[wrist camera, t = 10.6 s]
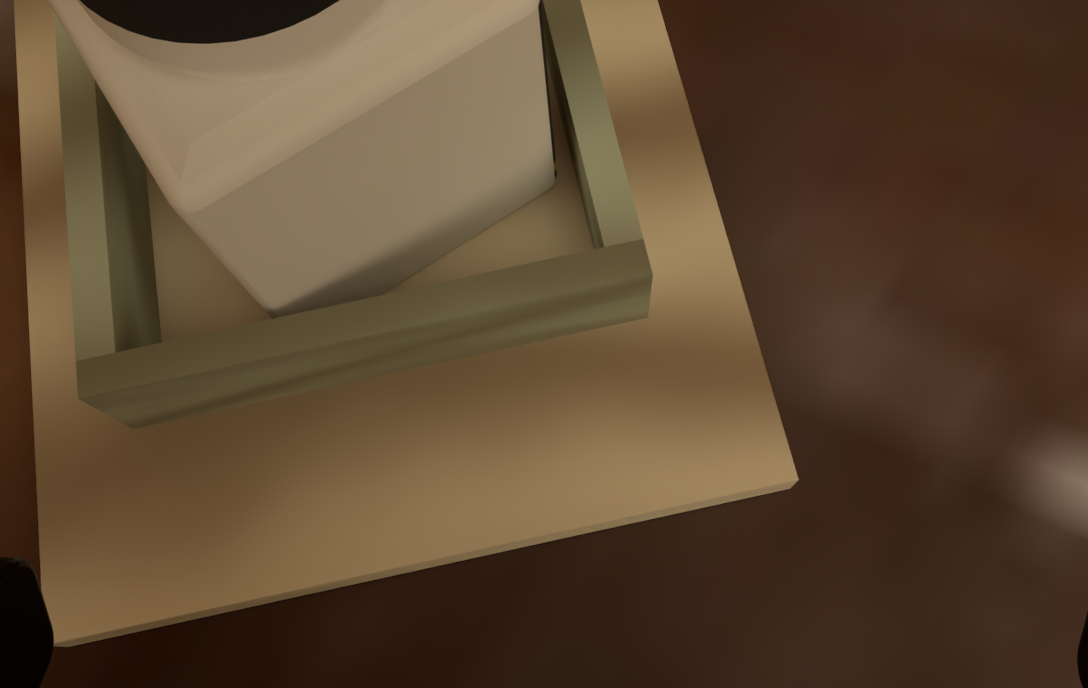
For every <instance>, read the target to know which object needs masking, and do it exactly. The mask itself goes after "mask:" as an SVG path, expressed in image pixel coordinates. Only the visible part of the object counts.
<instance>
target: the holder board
mask: <svg viewBox="0 0 1088 688" xmlns="http://www.w3.org/2000/svg"><path fill="white" fill-rule="evenodd" d="M541 8H542V19H543V30H544V41H545V51H546V62H547V73H548V84H549V94H550V105H551V116H552V127H553V137H554V148H555V159H556V170H557V177H556V181H555V184H554V185H553V186H552V187H551V188H550V189H549V190H548V191H547V192H545V193H543V194H542V195H540V196H539V197H537V198H535V199H534V200H532V201H531V202H529V203H527V204H526V205H524V206H522V207H521V208H519V209H518V210H516V211H514V212H513V213H511V214H510V215H508V216H506V217H505V218H503V219H502V220H500V221H498V222H497V223H495V224H494V225H492V226H490V227H489V228H487V229H486V230H484V231H482V232H481V233H479V234H478V235H476V236H474V237H473V238H471V239H469V240H468V241H466V242H465V243H463V244H461V245H460V246H458V247H457V248H455V249H453V250H452V251H450V252H449V253H447V254H445V255H444V256H442V257H441V258H439V259H437V260H436V261H434V262H433V263H431V264H429V265H428V266H426V267H425V268H423V269H421V270H420V271H418V272H417V273H415V274H413V275H412V276H410V277H408V278H407V279H405V280H404V281H402V282H400V283H399V284H397V285H396V286H394V287H392V288H391V289H389V290H388V291H386V292H384V293H383V294H381V295H380V296H375V297H370V298H366V299H361V300H356V301H352V302H347V303H343V304H338V305H333V306H329V307H324V308H319V309H315V310H310V311H305V312H301V313H296V314H292V315H287V316H282V317H278V318H273V319H272V318H271V317H270V316H269V315H268V314H267V312H266V311H265V310H264V309H263V308H262V307H261V306H260V305H259V304H258V302H257V301H256V300H255V299H254V298H253V297H252V296H251V295H250V294H249V292H248V291H247V290H246V289H245V288H244V287H243V286H242V285H241V284H240V282H239V281H238V280H237V279H236V278H235V277H234V276H233V275H232V274H231V272H230V271H229V270H228V269H227V268H226V267H225V266H224V265H223V264H222V262H221V261H220V260H219V259H218V258H217V257H216V256H215V255H214V254H213V252H212V251H211V250H210V249H209V248H208V247H207V246H206V245H205V244H204V242H203V241H202V240H201V239H200V238H199V237H198V236H197V235H196V234H195V232H194V231H193V230H192V229H191V228H190V227H189V226H188V225H187V224H186V222H185V221H184V220H183V219H182V218H181V217H180V216H179V215H178V214H177V212H176V211H175V210H174V209H173V208H172V207H171V206H170V204H169V203H168V201H167V199H166V198H165V196H164V194H163V193H162V191H161V189H160V188H159V186H158V184H157V183H156V181H155V179H154V178H153V176H152V174H151V173H150V171H149V169H148V168H147V166H146V164H145V163H144V161H143V159H142V158H141V156H140V154H139V153H138V151H137V149H136V148H135V146H134V144H133V143H132V141H131V139H130V138H129V136H128V134H127V133H126V131H125V129H124V128H123V126H122V124H121V123H120V121H119V119H118V118H117V116H116V114H115V113H114V111H113V109H112V107H111V106H110V104H109V102H108V101H107V99H106V97H105V96H104V94H103V92H102V91H101V89H100V87H99V86H98V84H97V82H96V81H95V79H94V77H93V76H92V74H91V72H90V71H89V69H88V67H87V66H86V64H85V62H84V61H83V59H82V57H81V56H80V54H79V52H78V51H77V49H76V47H75V46H74V44H73V42H72V41H71V39H70V37H69V36H68V34H67V32H66V31H65V29H64V27H63V26H62V24H61V22H60V21H59V19H58V17H57V16H56V14H55V12H54V11H53V9H52V7H51V6H50V4H49V2H48V1H47V0H14V15H15V37H16V58H17V79H18V101H19V122H20V143H21V165H22V186H23V207H24V229H25V250H26V271H27V293H28V314H29V335H30V356H31V378H32V399H33V420H34V442H35V463H36V484H37V506H38V527H39V548H40V570H41V591H42V594H43V598H44V601H45V604H46V608H47V611H48V614H49V617H50V621H51V624H52V627H53V633H54V645H53V646H60V647H71V646H75V645H80V644H84V643H89V642H93V641H98V640H103V639H107V638H112V637H116V636H121V635H125V634H130V633H134V632H139V631H144V630H148V629H153V628H157V627H162V626H166V625H171V624H175V623H180V622H185V621H189V620H194V619H198V618H203V617H207V616H212V615H216V614H221V613H226V612H230V611H235V610H239V609H244V608H248V607H253V606H257V605H262V604H267V603H271V602H276V601H280V600H285V599H289V598H294V597H299V596H303V595H308V594H312V593H317V592H321V591H326V590H330V589H335V588H340V587H344V586H349V585H353V584H358V583H362V582H367V581H371V580H376V579H381V578H385V577H390V576H394V575H399V574H403V573H408V572H412V571H417V570H422V569H426V568H431V567H435V566H440V565H444V564H449V563H453V562H458V561H463V560H467V559H472V558H476V557H481V556H485V555H490V554H494V553H499V552H504V551H508V550H513V549H517V548H522V547H526V546H531V545H535V544H540V543H545V542H549V541H554V540H558V539H563V538H567V537H572V536H576V535H581V534H586V533H590V532H595V531H599V530H604V529H608V528H613V527H618V526H622V525H627V524H631V523H636V522H640V521H645V520H649V519H654V518H659V517H663V516H668V515H672V514H677V513H681V512H686V511H690V510H695V509H700V508H704V507H709V506H713V505H718V504H722V503H727V502H731V501H736V500H741V499H745V498H750V497H754V496H759V495H763V494H768V493H772V492H777V491H782V490H786V489H790V488H791V487H792V486H793V485H794V484H795V483H796V482H797V481H798V476H797V473H796V469H795V466H794V463H793V459H792V456H791V452H790V449H789V446H788V442H787V439H786V435H785V432H784V429H783V425H782V422H781V418H780V415H779V412H778V408H777V405H776V401H775V398H774V395H773V391H772V388H771V384H770V381H769V378H768V374H767V371H766V367H765V364H764V361H763V357H762V354H761V350H760V347H759V344H758V340H757V337H756V333H755V330H754V327H753V323H752V320H751V317H750V313H749V310H748V306H747V303H746V300H745V296H744V293H743V289H742V286H741V283H740V279H739V276H738V272H737V269H736V266H735V262H734V259H733V255H732V252H731V249H730V245H729V242H728V238H727V235H726V232H725V228H724V225H723V221H722V218H721V215H720V211H719V208H718V204H717V201H716V198H715V194H714V191H713V187H712V184H711V181H710V177H709V174H708V170H707V167H706V164H705V160H704V157H703V153H702V150H701V147H700V143H699V140H698V136H697V133H696V130H695V126H694V123H693V120H692V116H691V113H690V109H689V106H688V103H687V99H686V96H685V92H684V89H683V86H682V82H681V79H680V75H679V72H678V69H677V65H676V62H675V58H674V55H673V52H672V48H671V45H670V41H669V38H668V35H667V31H666V28H665V24H664V21H663V18H662V14H661V11H660V7H659V4H658V1H657V0H541Z"/></svg>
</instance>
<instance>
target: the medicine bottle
mask: <svg viewBox="0 0 1088 688" xmlns="http://www.w3.org/2000/svg"><path fill="white" fill-rule="evenodd" d="M47 1H48V2H49V4H50V6H51V7H52V9H53V11H54V12H55V14H56V16H57V17H58V19H59V21H60V22H61V24H62V26H63V27H64V29H65V31H66V32H67V34H68V36H69V37H70V39H71V41H72V42H73V44H74V46H75V47H76V49H77V51H78V52H79V54H80V56H81V57H82V59H83V61H84V62H85V64H86V66H87V67H88V69H89V71H90V72H91V74H92V76H93V77H94V79H95V81H96V82H97V84H98V86H99V87H100V89H101V91H102V92H103V94H104V96H105V97H106V99H107V101H108V102H109V104H110V106H111V107H112V109H113V111H114V113H115V114H116V116H117V118H118V119H119V121H120V123H121V124H122V126H123V128H124V129H125V131H126V133H127V134H128V136H129V138H130V139H131V141H132V143H133V144H134V146H135V148H136V149H137V151H138V153H139V154H140V156H141V158H142V159H143V161H144V163H145V164H146V166H147V168H148V169H149V171H150V173H151V174H152V176H153V178H154V179H155V181H156V183H157V184H158V186H159V188H160V189H161V191H162V193H163V194H164V196H165V198H166V199H167V201H168V203H169V204H170V206H171V207H172V208H173V209H174V210H175V211H176V212H177V214H178V215H179V216H180V217H181V218H182V219H183V220H184V221H185V222H186V224H187V225H188V226H189V227H190V228H191V229H192V230H193V231H194V232H195V234H196V235H197V236H198V237H199V238H200V239H201V240H202V241H203V242H204V244H205V245H206V246H207V247H208V248H209V249H210V250H211V251H212V252H213V254H214V255H215V256H216V257H217V258H218V259H219V260H220V261H221V262H222V264H223V265H224V266H225V267H226V268H227V269H228V270H229V271H230V272H231V274H232V275H233V276H234V277H235V278H236V279H237V280H238V281H239V282H240V284H241V285H242V286H243V287H244V288H245V289H246V290H247V291H248V292H249V294H250V295H251V296H252V297H253V298H254V299H255V300H256V301H257V302H258V304H259V305H260V306H261V307H262V308H263V309H264V310H265V311H266V312H267V314H268V315H269V316H270V317H271V318H272V319H273V318H278V317H282V316H287V315H292V314H296V313H301V312H305V311H310V310H315V309H319V308H324V307H329V306H333V305H338V304H343V303H347V302H352V301H356V300H361V299H366V298H370V297H375V296H380V295H381V294H383V293H384V292H386V291H388V290H389V289H391V288H392V287H394V286H396V285H397V284H399V283H400V282H402V281H404V280H405V279H407V278H408V277H410V276H412V275H413V274H415V273H417V272H418V271H420V270H421V269H423V268H425V267H426V266H428V265H429V264H431V263H433V262H434V261H436V260H437V259H439V258H441V257H442V256H444V255H445V254H447V253H449V252H450V251H452V250H453V249H455V248H457V247H458V246H460V245H461V244H463V243H465V242H466V241H468V240H469V239H471V238H473V237H474V236H476V235H478V234H479V233H481V232H482V231H484V230H486V229H487V228H489V227H490V226H492V225H494V224H495V223H497V222H498V221H500V220H502V219H503V218H505V217H506V216H508V215H510V214H511V213H513V212H514V211H516V210H518V209H519V208H521V207H522V206H524V205H526V204H527V203H529V202H531V201H532V200H534V199H535V198H537V197H539V196H540V195H542V194H543V193H545V192H547V191H548V190H549V189H550V188H551V187H552V186H553V185H554V184H555V181H556V177H557V170H556V159H555V148H554V137H553V127H552V116H551V105H550V94H549V84H548V73H547V62H546V51H545V41H544V30H543V19H542V8H541V0H47Z"/></svg>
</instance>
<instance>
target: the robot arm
mask: <svg viewBox="0 0 1088 688" xmlns="http://www.w3.org/2000/svg"><path fill="white" fill-rule="evenodd" d="M53 645H54V633H53V627H52V624H51V621H50V617H49V614H48V611H47V608H46V604H45V601H44V598H43V594H42V591H41V588H40V585H39V581H38V578H37V575H36V572H35V569H34V567H33V566H32V565H31V563H30V562H29V561H27V560H26V559H23V558H20V557H0V688H39V687H40V685H41V682H42V680H43V677H44V675H45V672H46V670H47V667H48V665H49V662H50V659H51V656H52V652H53ZM1077 663H1078V671H1079V677H1080V680H1081V684H1082V686H1083V688H1088V613H1087V616H1086V620H1085V624H1084V628H1083V632H1082V635H1081V639H1080V643H1079V647H1078V655H1077Z"/></svg>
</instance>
